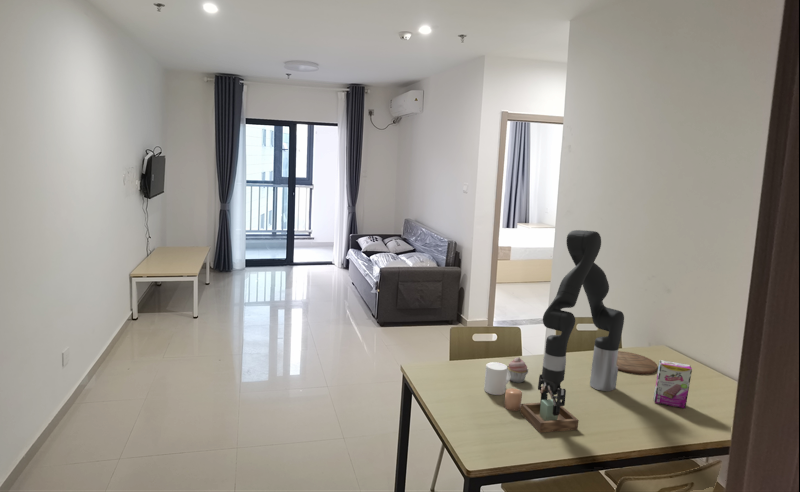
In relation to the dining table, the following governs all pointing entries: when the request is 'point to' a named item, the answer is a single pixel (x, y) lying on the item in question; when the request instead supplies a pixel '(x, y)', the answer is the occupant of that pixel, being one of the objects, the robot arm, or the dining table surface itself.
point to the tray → (561, 424)
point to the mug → (496, 378)
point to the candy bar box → (672, 384)
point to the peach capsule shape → (513, 399)
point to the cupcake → (517, 370)
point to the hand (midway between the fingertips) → (549, 409)
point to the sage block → (547, 410)
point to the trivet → (635, 363)
